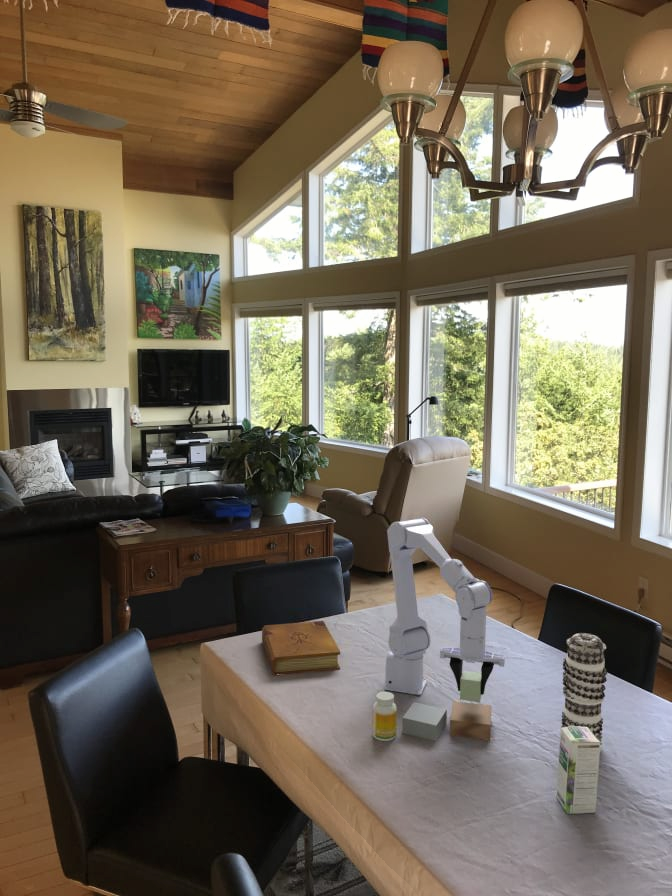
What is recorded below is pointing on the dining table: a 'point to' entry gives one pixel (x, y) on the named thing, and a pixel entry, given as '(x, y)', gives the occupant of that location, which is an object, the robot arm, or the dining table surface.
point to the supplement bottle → (384, 717)
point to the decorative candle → (584, 683)
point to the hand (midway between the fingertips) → (471, 690)
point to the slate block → (424, 721)
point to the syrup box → (578, 770)
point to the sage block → (470, 686)
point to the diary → (300, 648)
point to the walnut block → (470, 720)
